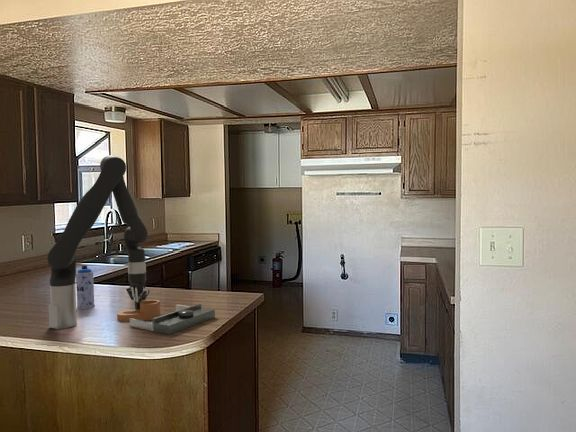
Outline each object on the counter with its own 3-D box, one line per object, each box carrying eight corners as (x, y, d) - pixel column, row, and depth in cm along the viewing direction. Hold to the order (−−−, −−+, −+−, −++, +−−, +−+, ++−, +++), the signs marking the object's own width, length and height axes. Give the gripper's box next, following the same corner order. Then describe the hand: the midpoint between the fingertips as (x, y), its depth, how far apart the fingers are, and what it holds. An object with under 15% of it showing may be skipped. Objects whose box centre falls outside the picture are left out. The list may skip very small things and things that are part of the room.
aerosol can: (73, 308, 206) (71, 266, 205) (85, 304, 214) (84, 264, 212) (85, 309, 203) (84, 267, 202) (98, 305, 211) (97, 264, 210)
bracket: (161, 314, 194) (161, 299, 193) (158, 320, 186) (158, 304, 185) (120, 316, 192) (119, 301, 191) (114, 322, 183) (114, 305, 183)
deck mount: (169, 334, 165) (168, 321, 165) (129, 326, 177) (129, 313, 176) (214, 317, 188) (214, 305, 187) (177, 310, 199) (177, 299, 199)
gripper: (120, 271, 193) (121, 310, 194) (140, 274, 186) (142, 313, 187) (133, 269, 199) (135, 306, 200) (154, 271, 193) (155, 309, 194)
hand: (138, 309), depth 194 cm, fingers closed
